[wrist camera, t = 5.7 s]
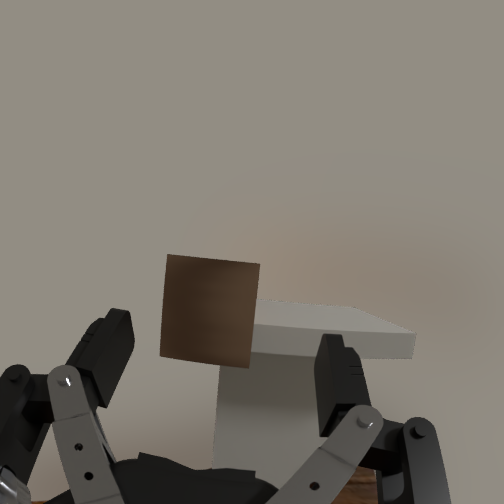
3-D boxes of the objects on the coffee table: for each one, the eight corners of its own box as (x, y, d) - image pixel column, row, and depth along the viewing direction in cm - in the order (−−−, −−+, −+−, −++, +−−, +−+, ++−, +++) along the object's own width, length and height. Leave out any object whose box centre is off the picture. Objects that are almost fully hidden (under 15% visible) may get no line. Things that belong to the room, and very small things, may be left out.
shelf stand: (171, 567, 21) (170, 313, 22) (195, 488, 38) (207, 293, 39) (335, 575, 20) (416, 333, 21) (315, 497, 37) (354, 307, 38)
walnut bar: (159, 356, 12) (167, 254, 12) (224, 297, 37) (228, 262, 37) (249, 368, 12) (260, 263, 12) (255, 300, 37) (258, 265, 37)
